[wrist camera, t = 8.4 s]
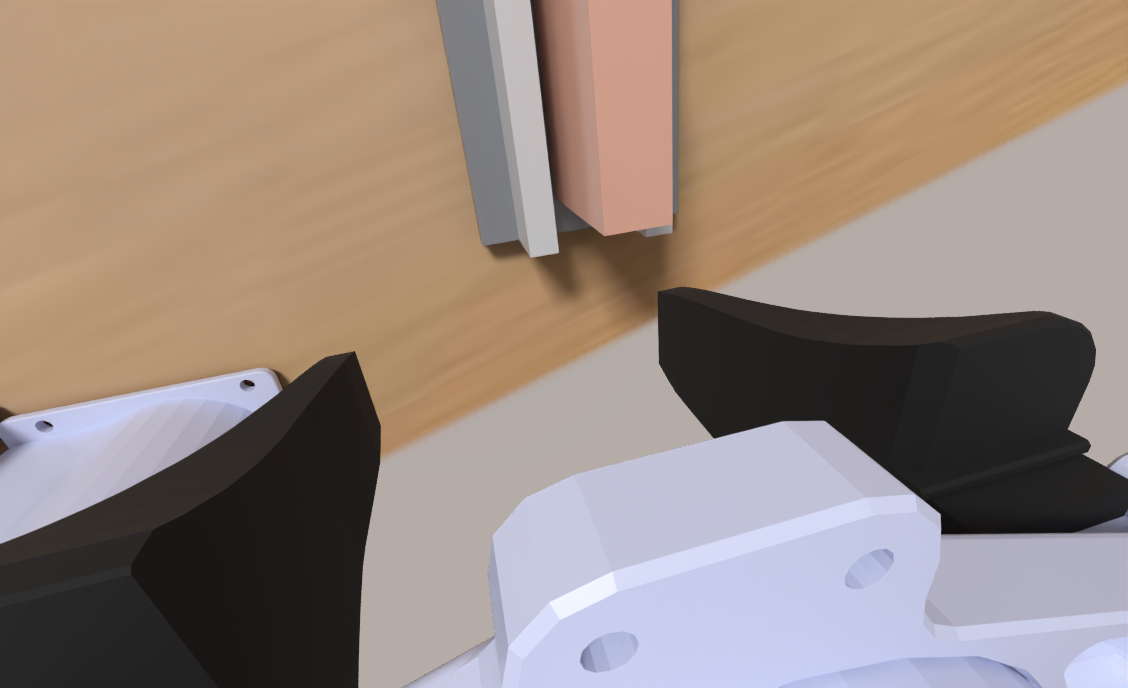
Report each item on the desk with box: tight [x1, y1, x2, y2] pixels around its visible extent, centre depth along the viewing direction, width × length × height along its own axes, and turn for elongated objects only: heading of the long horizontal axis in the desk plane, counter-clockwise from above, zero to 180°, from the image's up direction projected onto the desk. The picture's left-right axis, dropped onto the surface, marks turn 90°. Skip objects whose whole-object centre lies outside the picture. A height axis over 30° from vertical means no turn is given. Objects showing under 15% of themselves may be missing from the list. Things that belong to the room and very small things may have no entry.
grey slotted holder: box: [436, 0, 678, 258], centre depth 16 cm, size 8×11×4 cm
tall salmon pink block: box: [533, 0, 673, 236], centre depth 14 cm, size 2×8×6 cm, turn 6°
